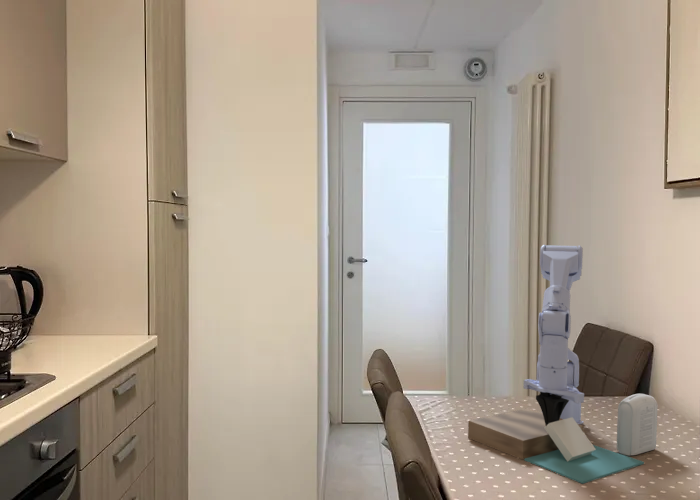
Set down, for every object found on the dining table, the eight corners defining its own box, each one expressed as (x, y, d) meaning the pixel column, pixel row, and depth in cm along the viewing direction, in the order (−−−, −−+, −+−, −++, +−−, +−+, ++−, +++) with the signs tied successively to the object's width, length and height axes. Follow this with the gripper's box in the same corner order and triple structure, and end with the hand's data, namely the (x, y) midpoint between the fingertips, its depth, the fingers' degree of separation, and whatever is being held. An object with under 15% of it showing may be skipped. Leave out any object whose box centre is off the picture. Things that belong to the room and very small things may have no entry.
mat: (585, 444, 142) (585, 442, 142) (644, 463, 131) (644, 461, 130) (524, 460, 131) (524, 458, 131) (582, 483, 120) (582, 481, 119)
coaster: (567, 421, 139) (572, 417, 138) (590, 454, 135) (596, 449, 134) (544, 427, 135) (549, 423, 134) (567, 461, 130) (572, 456, 129)
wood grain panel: (527, 424, 156) (528, 408, 156) (583, 443, 143) (584, 425, 142) (468, 437, 145) (468, 420, 145) (522, 459, 132) (523, 440, 131)
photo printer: (640, 443, 143) (642, 389, 143) (659, 449, 139) (661, 393, 139) (613, 452, 137) (614, 395, 137) (631, 458, 134) (633, 400, 133)
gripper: (514, 361, 141) (513, 422, 142) (569, 374, 129) (567, 441, 129) (536, 358, 145) (534, 417, 145) (591, 371, 133) (589, 435, 133)
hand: (551, 428), depth 138 cm, fingers closed
